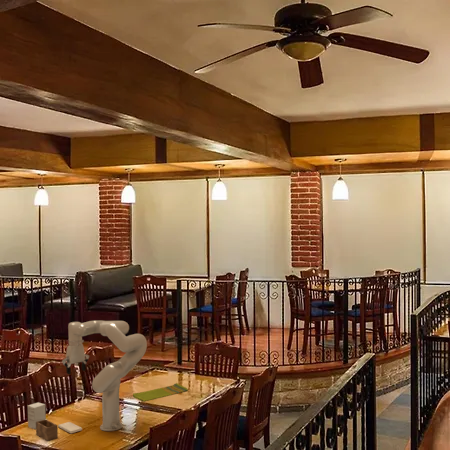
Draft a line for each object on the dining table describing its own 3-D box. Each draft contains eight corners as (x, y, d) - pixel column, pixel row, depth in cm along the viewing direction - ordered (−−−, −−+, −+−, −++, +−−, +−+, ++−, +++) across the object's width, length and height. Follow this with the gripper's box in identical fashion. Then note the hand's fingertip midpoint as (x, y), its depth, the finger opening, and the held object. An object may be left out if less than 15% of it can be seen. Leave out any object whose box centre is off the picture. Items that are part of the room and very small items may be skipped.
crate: (57, 438, 306) (57, 425, 307) (47, 441, 302) (46, 428, 302) (46, 431, 317) (46, 419, 317) (36, 434, 313) (35, 422, 313)
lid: (82, 431, 316) (81, 427, 316) (70, 434, 312) (70, 431, 312) (69, 425, 327) (69, 421, 327) (58, 428, 323) (58, 424, 323)
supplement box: (39, 423, 331) (38, 402, 331) (46, 426, 327) (45, 404, 327) (27, 427, 326) (27, 405, 326) (34, 429, 321) (34, 407, 321)
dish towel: (188, 391, 389) (188, 387, 389) (143, 402, 367) (143, 397, 367) (176, 387, 401) (176, 382, 401) (132, 397, 379) (132, 392, 379)
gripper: (85, 340, 340) (85, 368, 340) (58, 344, 328) (59, 374, 328) (91, 341, 335) (92, 370, 335) (65, 346, 323) (66, 376, 323)
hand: (76, 372), depth 332 cm, fingers open, 9 cm apart
